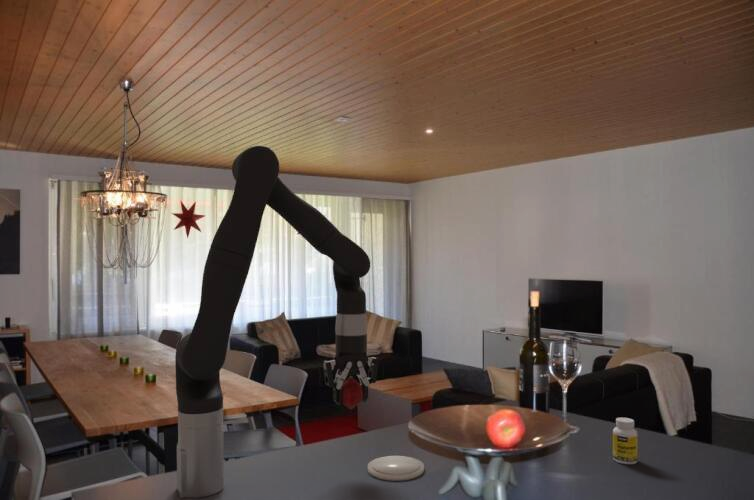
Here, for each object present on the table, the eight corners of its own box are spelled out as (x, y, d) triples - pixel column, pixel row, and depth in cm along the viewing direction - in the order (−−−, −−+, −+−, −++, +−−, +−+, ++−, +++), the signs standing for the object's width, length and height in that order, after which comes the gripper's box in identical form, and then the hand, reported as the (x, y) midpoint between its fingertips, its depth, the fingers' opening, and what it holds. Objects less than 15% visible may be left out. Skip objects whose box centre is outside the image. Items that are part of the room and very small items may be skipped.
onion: (366, 411, 138) (366, 377, 138) (343, 413, 136) (343, 379, 136) (358, 405, 144) (358, 372, 144) (335, 407, 141) (335, 374, 142)
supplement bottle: (614, 464, 137) (614, 422, 137) (611, 456, 142) (610, 415, 142) (639, 465, 136) (639, 423, 136) (635, 457, 141) (634, 417, 141)
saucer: (383, 484, 126) (383, 478, 126) (358, 465, 138) (358, 459, 138) (434, 474, 132) (434, 468, 132) (407, 456, 144) (407, 451, 144)
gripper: (328, 335, 133) (328, 410, 133) (385, 332, 140) (385, 403, 140) (317, 332, 140) (317, 402, 140) (371, 328, 146) (371, 396, 146)
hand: (351, 402), depth 140 cm, fingers closed on onion, 5 cm apart
